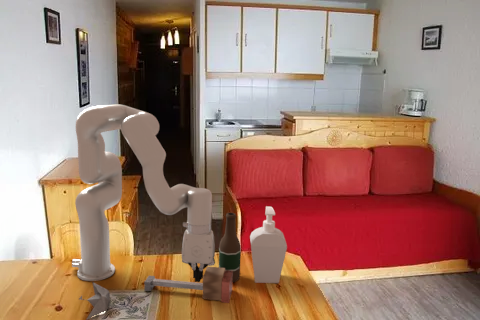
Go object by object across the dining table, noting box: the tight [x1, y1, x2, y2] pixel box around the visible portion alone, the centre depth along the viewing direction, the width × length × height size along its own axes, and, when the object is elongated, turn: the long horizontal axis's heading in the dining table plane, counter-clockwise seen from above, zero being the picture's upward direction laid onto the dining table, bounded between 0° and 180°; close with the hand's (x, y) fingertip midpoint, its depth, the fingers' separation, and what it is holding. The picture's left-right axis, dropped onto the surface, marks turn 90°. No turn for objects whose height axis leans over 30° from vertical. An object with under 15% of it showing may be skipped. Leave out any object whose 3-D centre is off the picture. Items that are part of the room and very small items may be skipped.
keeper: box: [202, 266, 225, 301], centre depth 130 cm, size 6×7×8 cm
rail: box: [143, 270, 233, 304], centre depth 131 cm, size 28×8×7 cm, turn 84°
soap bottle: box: [249, 205, 288, 284], centre depth 141 cm, size 12×10×26 cm
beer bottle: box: [218, 212, 242, 283], centre depth 140 cm, size 8×8×24 cm
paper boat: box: [78, 281, 111, 320], centre depth 120 cm, size 12×6×9 cm
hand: (198, 280), depth 130 cm, fingers closed
